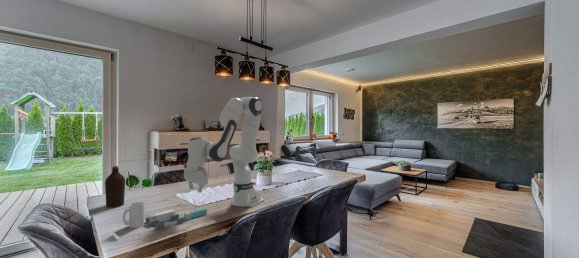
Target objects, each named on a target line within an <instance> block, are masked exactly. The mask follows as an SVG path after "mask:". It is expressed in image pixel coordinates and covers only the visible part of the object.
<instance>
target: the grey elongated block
mask: <svg viewBox="0 0 579 258" xmlns="http://www.w3.org/2000/svg"><path fill="white" fill-rule="evenodd" d="M174 214H176V210H174V209H169V210H165V211H160V212H158V213H152V214H149V215H148V217H149V223H150V221H152V220H155V219H159V222H162V221H166V220H170V219H171V215H174Z"/></svg>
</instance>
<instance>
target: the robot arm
mask: <svg viewBox="0 0 579 258" xmlns="http://www.w3.org/2000/svg"><path fill="white" fill-rule="evenodd" d="M263 107H264V105H263V100H262V99H261V98H259V97H256V96H254V97H253V96H244V97H242V96H240V97H232V98H231V99H230V100H229V101H228V102H227V103H226V105H225V106H224V108H223V109H222V111H221V113H220V116H219V122H220V124H221V125H222V126H223V131H222V133H221V136H220V139H218V142H216V143H215V142H211V141H209V140H208V139H205V137H202V136H195V137H191V138H190V139H189V141H188V146H187V155H188V159H187V162H185V163H183V168H184V169H183V178H184V180H185V181H187V183H188V186H189V187H188V188H189V189H190V190H193V189H194V185H193V184H196V185H198V188H197V192H198V193H202V192H203V188H204V187H205V186H206V185H208V184H209V174H208V171H207V170H206V168H205V160H206V159H208V160H212V161H214V162H218V163H219V162H220V163H221V162H222V161H223V162H224V160H225V159H227V157H228V154H229V156H230V158H231V161H232V165H233V171H234V177H233V178H234V179H233V180H234V182H233V194H232V195H233V196H232V201H231V205H232V206H234V207H254V206H255V205H257V204H259V203H262V202H264V201H265V199H264V198H263V197H261V196H262V195H261V192H260V191H259V190H258V189H256V188H255V187H254V186H256V184H257V183H256V182H255V181H252V170H251V168H250V165H249V164H250V163H251V164H253V163H254V162H256V161H257V159H258V156H259V155H258V154H259V153H258V151H257V137H258V134H259V130H260V126H261V120H262V116H261V113H262V111H263V109H264V108H263ZM242 113H243V114H245V118H244V122H243V124H242V127H241V131H240V134H239V136H240V138H241V139H240V141H241V142H240V144H235V145H233V146H232V147H230V144H231V142H232V139H233V138H234V135H235V132H236V130H237V126H238V125H237V124H238V121H239V119H240V117H241V115H242ZM229 147H230V148H229Z"/></svg>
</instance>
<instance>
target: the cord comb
mask: <svg viewBox="0 0 579 258" xmlns="http://www.w3.org/2000/svg"><path fill="white" fill-rule="evenodd" d="M185 222H186V219H185V217H184V216H181V217H180V214H179V213H175V214H174V215H171V219H170V220H166V221H162V222H159V219H155V220H152V221H150V223H149V216H146V217H145V223H146V224H147V225H148V226H150V227H152V228H153V229H154V230H156V231H159V230H162V229H165V228H169V227H173V226H176V225H178V224H182V223H185Z"/></svg>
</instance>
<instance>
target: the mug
mask: <svg viewBox="0 0 579 258" xmlns="http://www.w3.org/2000/svg"><path fill="white" fill-rule="evenodd" d="M127 213H128V221H127V220H126V215H127ZM122 221H123V224H124V225H125V226H129V227H128V228H131V229H136V228H140V227H143V226H144V225H145V201H135V202H132V203H129V204H128V208H125V209H124V211H123V213H122Z"/></svg>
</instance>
